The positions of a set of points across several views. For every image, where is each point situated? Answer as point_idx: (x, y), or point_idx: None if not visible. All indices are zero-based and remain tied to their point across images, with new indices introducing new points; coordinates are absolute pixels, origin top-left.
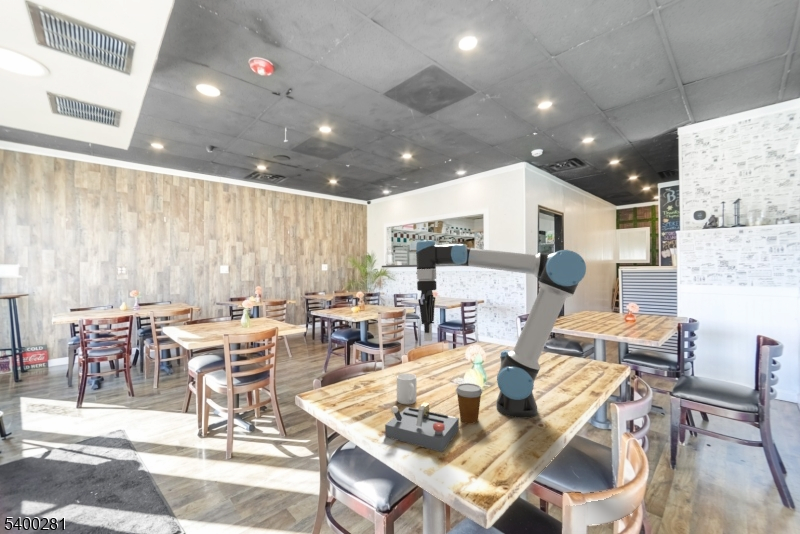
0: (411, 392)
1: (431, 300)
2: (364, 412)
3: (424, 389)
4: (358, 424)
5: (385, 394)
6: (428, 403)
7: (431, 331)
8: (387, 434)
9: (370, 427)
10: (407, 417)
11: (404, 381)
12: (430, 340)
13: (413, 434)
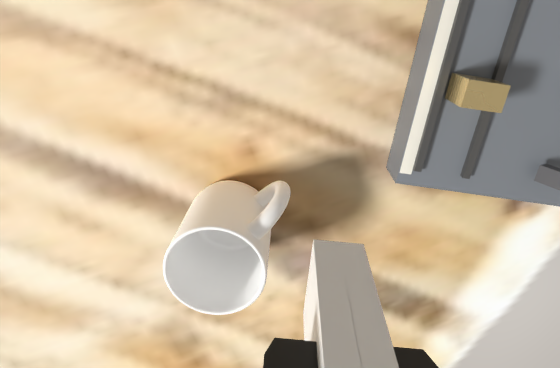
0: (254, 209)
1: None
2: None
3: (75, 183)
4: (473, 295)
5: None
6: (469, 82)
7: (345, 329)
8: None
9: (488, 255)
10: (498, 151)
11: (266, 263)
12: (362, 255)
13: None
